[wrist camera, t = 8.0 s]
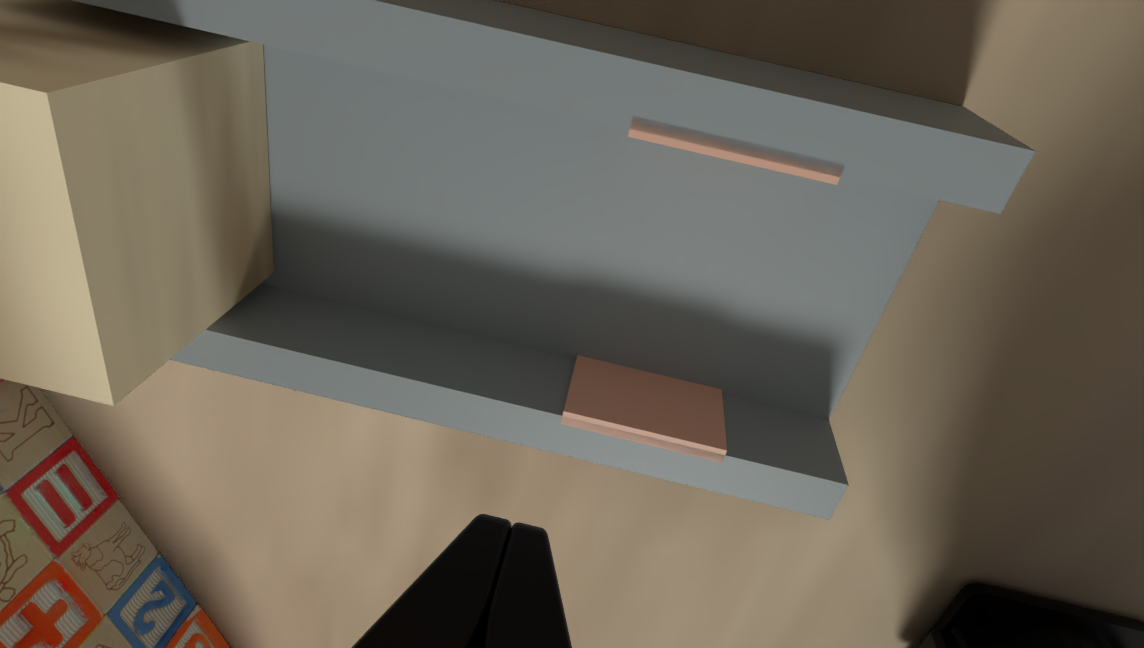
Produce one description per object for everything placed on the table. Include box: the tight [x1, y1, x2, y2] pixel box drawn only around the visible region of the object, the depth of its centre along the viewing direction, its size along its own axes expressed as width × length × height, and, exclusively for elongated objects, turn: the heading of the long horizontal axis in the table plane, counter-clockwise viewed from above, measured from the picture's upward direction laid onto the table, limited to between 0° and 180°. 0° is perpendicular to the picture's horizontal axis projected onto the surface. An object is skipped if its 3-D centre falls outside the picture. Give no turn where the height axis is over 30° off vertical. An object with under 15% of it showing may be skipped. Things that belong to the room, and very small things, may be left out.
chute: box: [73, 0, 1035, 519], centre depth 16 cm, size 20×9×4 cm, turn 79°
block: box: [0, 0, 274, 406], centre depth 14 cm, size 6×6×6 cm
